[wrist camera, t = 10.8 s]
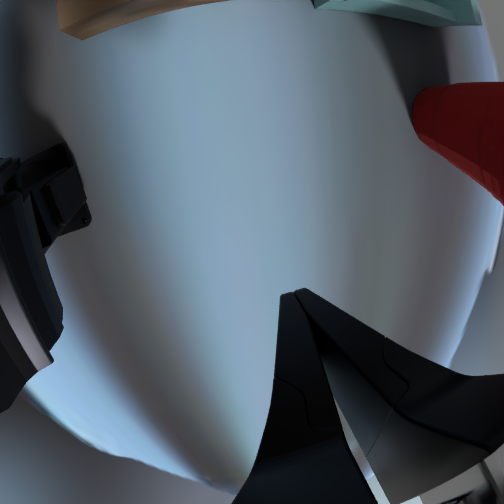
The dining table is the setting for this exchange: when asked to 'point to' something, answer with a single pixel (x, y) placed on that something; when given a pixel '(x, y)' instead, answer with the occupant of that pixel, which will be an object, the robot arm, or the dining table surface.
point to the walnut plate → (111, 13)
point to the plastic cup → (466, 129)
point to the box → (413, 10)
